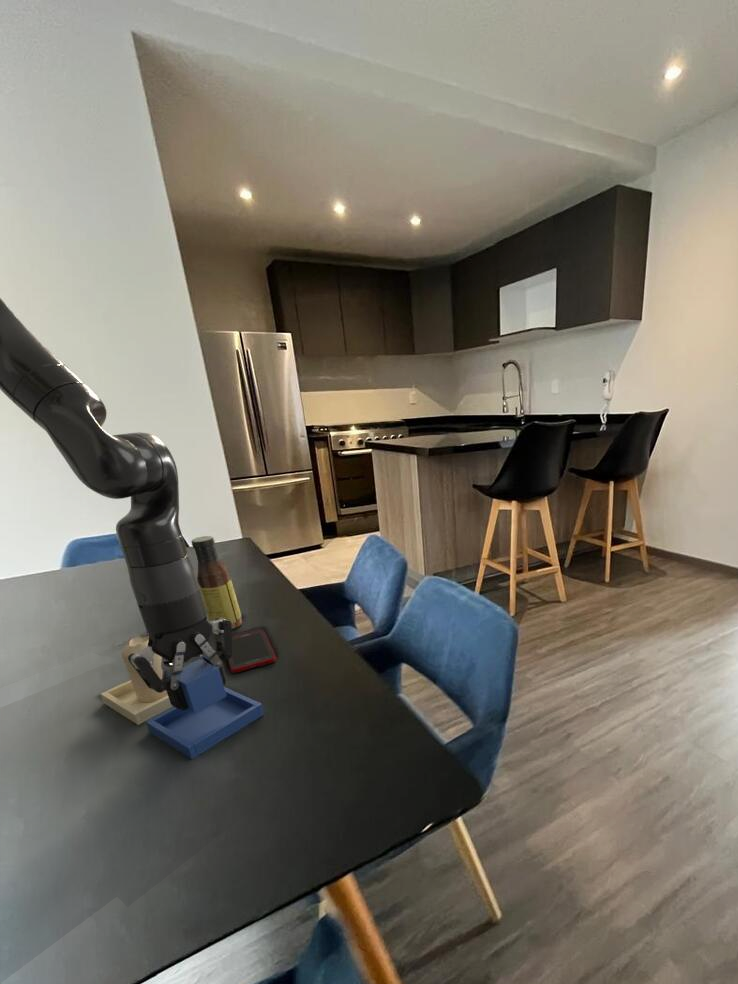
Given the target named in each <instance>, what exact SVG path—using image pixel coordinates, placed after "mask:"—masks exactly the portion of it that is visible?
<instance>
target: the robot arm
mask: <svg viewBox="0 0 738 984" xmlns="http://www.w3.org/2000/svg"><path fill="white" fill-rule="evenodd" d="M0 391H1V392H2V393H3V394H4V395H5V396H6V397H7V398H8V399H9V400H10V401H12V403H13V404H15V406H16V407H18V408H19V409H20V410H21V411H22V412H23V413H24V414H25V415H27V416H28V417H29V418H30V419H31V420H32V421H34V423H35V424H37V426H39V427H40V428H42V430H43V431H45V432H46V434H47V435H48V437H49V438H50V440H51V441H52V444H54V446H55V448H56V449H57V450H58V452H59V453H60V454H61V456H62V457H63V459H64V460H65V462H66V463H67V465H68V467H69V469H71V471H72V472H73V474H75V476H76V478H77V479H78V480H79V481H80V482H81V483H82V484H83V485H84V486H86V488H88V489H90V490H91V491H92V492H95V493H96V494H98V495H100V496H102V497H105V498H108V499H113V500H121V499H122V500H123V499H127V498H130V509H129V511H128V512H127V514H126V515H125V516H123V517H122V518H120V519H119V520H118V521H117V523H116V525H115V532H116V536H117V541H118V542H119V546H120V549H121V553H122V556H123V558H124V561H125V563H126V567H127V572H128V578H129V582H130V586H131V589H132V592H133V595H134V598H135V601H136V604H137V607H138V610H139V613H140V616H141V619H142V621H143V625H144V627H145V631H146V632H147V636H149V641H148V647H147V648H145V649H144V650H142V651H141V652H139V653H138V654H135V653H132V654H130V655H129V656H128V661H129V662H130V663H131V665H132V666H133V667H134V669H135V670H136V671H137V673H138V674H139V675H140V677H141V678H142V679H143V681H144V682H145V684H146V685H147V686H148V687H149V688H151V689H153V690H155V691H156V692H158V693H161V692H163V691H165V690H166V691H167V694H168V697H169V700H170V703H171V705H172V706H173V707H175V708H177V709H180V710H182V711H184V710H186V709H188V705H187V702H186V699H185V696H184V693H183V690H182V687H180V674H181V673H182V672H183V667H184V664H185V663H187V662H188V661H190V660H191V659H192V658H198V657H200V658H201V660H202V661H204V662H207V663H209V664H211V665H214V666H216V667H218V668H219V671H220V675H221V678H222V682H223V685H224V686H225V685H226V683H227V682H226V677H225V673H224V670H223V669H224V668H223V664H224V663H225V661H226V660H228V659H230V658H231V657H232V636H233V634H232V631H233V629H232V627H231V621H229V620H226V619H223V618H220V617H218V618H216V619H215V620H214V621H210V620H209V618H208V617H207V610H206V607H205V604H204V600H203V597H202V594H201V591H200V588H199V585H198V579H197V577H198V576H197V575H196V572H195V568H194V566H193V564H192V560H191V559H190V557H189V554H188V550H187V547H186V543H185V539H184V536H183V533H182V530H181V526H180V524H179V518H180V517H179V515H180V492H179V489H180V487H179V474H178V469H177V465H176V464H177V463H176V461H175V459H174V457H173V455H172V452H171V451H170V449H169V447H167V445H166V444H165V443H164V442H163V441H162V440H161V439H160V438H159V437H158V436H155V435H153V434H150V433H148V432H141V431H140V432H130V433H122V434H121V433H119V434H112V435H111V434H110V433H108V432H107V431H105V429H103V428H102V426H103V425H104V424H105V422H106V420H107V416H108V415H107V408H106V406H105V404H104V402H103V400H101V398H100V397H99V396H98V395H97V394H96V393H95V392H94V391H93V390H92V389H91V388H90V387H89V386H88V385H87V384H86V383H85V382H84V381H82V380H81V379H80V378H79V376H77V375H76V373H74V372H73V371H72V370H71V369H70V368H69V367H68V366H66V365H65V364H64V363H63V362H62V361H61V360H60V359H59V358H58V357H57V356H56V355H55V354H54V353H53V352H52V351H50V349H49V348H47V347H46V346H45V345H44V344H43V342H41V341H40V340H39V339H38V338H37V337H36V336H35V335H34V334H33V333H32V332H31V330H29V328H27V327H26V325H25V324H24V323H23V322H22V321H21V320H20V319H19V318H18V317H17V315H16V314H14V312H13V310H11V308H9V306H8V305H7V304H6V303H5V301H4V300H3V299H2V298H1V297H0ZM212 633H213V634H214V648H215V650H214V648H213V647H212V646H211V645H210V643H209V640H210V637H211V634H212ZM154 654H157V655H159V656H161V657H162V660H161V668H162V671H163V672H162V679H160V678H159V676H158V675H157V674H156V672H155V671H154V669H153V668H152V667H151V665H153V658H152V657H153V655H154ZM173 707H172V708H173Z"/></svg>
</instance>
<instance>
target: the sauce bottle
mask: <svg viewBox="0 0 738 984" xmlns="http://www.w3.org/2000/svg"><path fill="white" fill-rule="evenodd" d="M191 546H192V548H193V549H194V551H195V555H196V560H197V576H196V577H197V579H198V585H199V589H200V592H201V596H202V599H203V603H204V606H205V610H206V614H207V616H208V617H207V618H208V620H209V621H214V620H215V619H216V618H218V617H220V618H223V619H226V620H229V621H231V627H232V630H234V629H237V628H239V627H240V626H241V625H242V624H243V618H242V612H241V609H240V605H239V602H238V598H237V596H236V591H235V588H234V585H233V582H232V578H231V576H230V573H229V569H228V567H227V565H226V564H225V563H224V562H223V561H222V560H221V559H220V558H219V555H218V553H217V550H216V547H215V546H216V545H215V539H214V537H213V536H212V535H203V536H199V537H195V538H193V539H191Z"/></svg>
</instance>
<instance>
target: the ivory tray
mask: <svg viewBox="0 0 738 984" xmlns="http://www.w3.org/2000/svg"><path fill="white" fill-rule="evenodd" d="M100 696H101V699H102V702H103V704H104V705H105V706H107V707H109V708H110V709H112V710H114V711H115V712H116V713H119V714H120V715H122V716H123V717H125V718H126V719H127V720H129V721H131V722H132V723H134V724H136V725H137V726H140V725H142V724H143V723H146V721H148V720H150V719H152V718H154V717H156V716H158V715H160V714H162V713H164V712H165V711H167V710H169V709H171V708H173V706H172V705H171V703H170V700H169V697H168V696H166V697H164V698H162V699H160V700H157V701H154V702H141V701H139V700H138V698H137V696H136V693H135V690H134V688H133V685H132V682H131V679H130V680H127V681H126V682H123V683H121V684H118V685H116V686H115V687H112V688H110V689H107V690H106V691H103V692H101V693H100Z"/></svg>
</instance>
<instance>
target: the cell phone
mask: <svg viewBox="0 0 738 984" xmlns="http://www.w3.org/2000/svg"><path fill="white" fill-rule="evenodd" d="M227 660H228V664H229V667H230V671H231V672H232V673H233V674H237V673H241V672H243V671H249V670H251V669H255V668H258V667H262V666H266V665H270V664H272V663H275V662H276V660H277V659H276V654H275V652H274V649H273V647H272V646H271V643H270V642H269V639H268V636H267V635H266V631H264V630H263V629H256V630H253V631H249V632H245V633H240V634H237V635H232V657H231V658H230V659H227Z"/></svg>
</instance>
